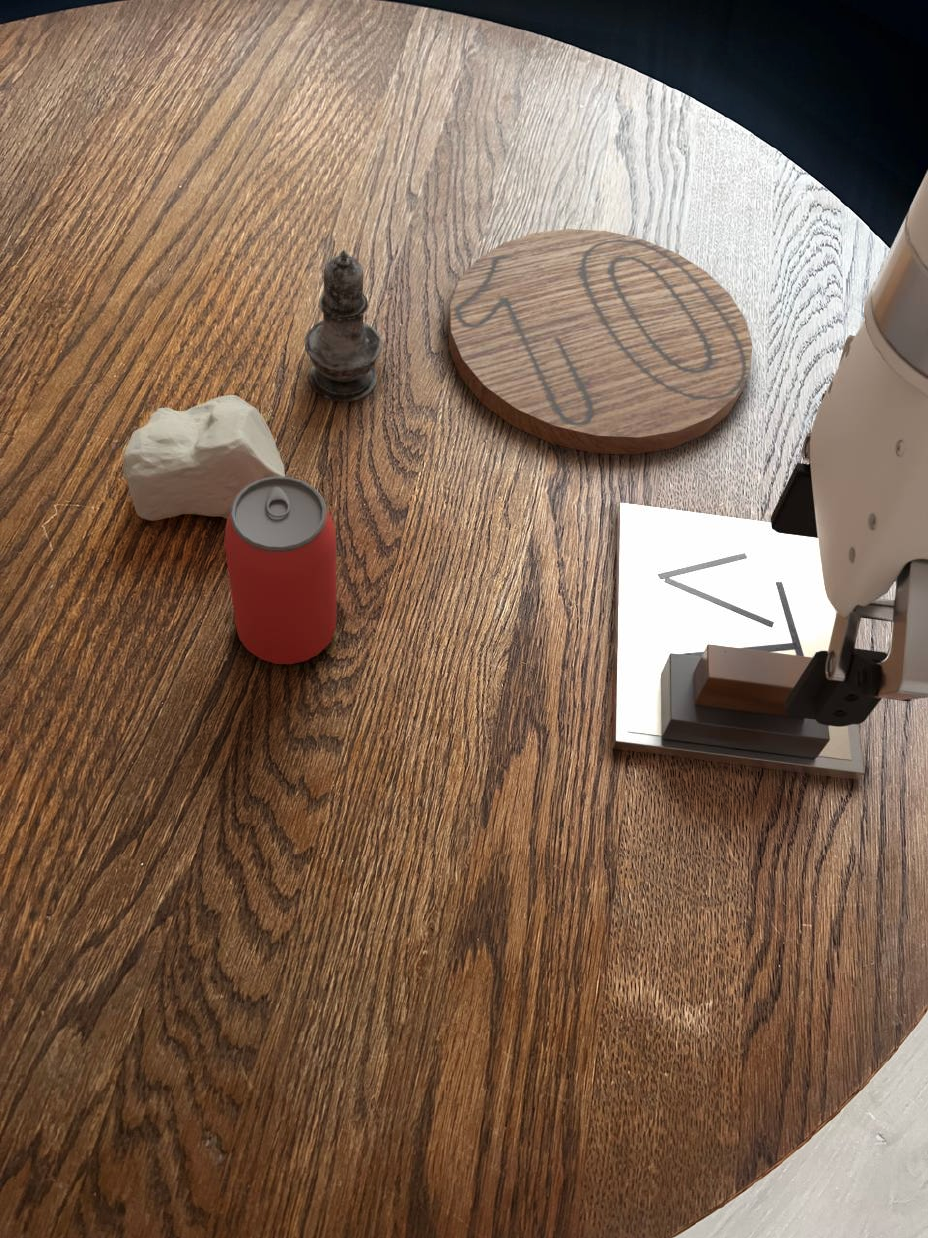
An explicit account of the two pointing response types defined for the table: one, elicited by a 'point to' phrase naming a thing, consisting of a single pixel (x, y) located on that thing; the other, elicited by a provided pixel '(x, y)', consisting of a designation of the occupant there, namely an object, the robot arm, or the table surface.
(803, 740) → the eraser
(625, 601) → the whiteboard
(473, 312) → the trivet
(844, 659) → the robot arm
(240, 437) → the decorative stone
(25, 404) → the table surface
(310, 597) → the beer can
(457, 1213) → the table surface
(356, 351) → the dark chess piece
